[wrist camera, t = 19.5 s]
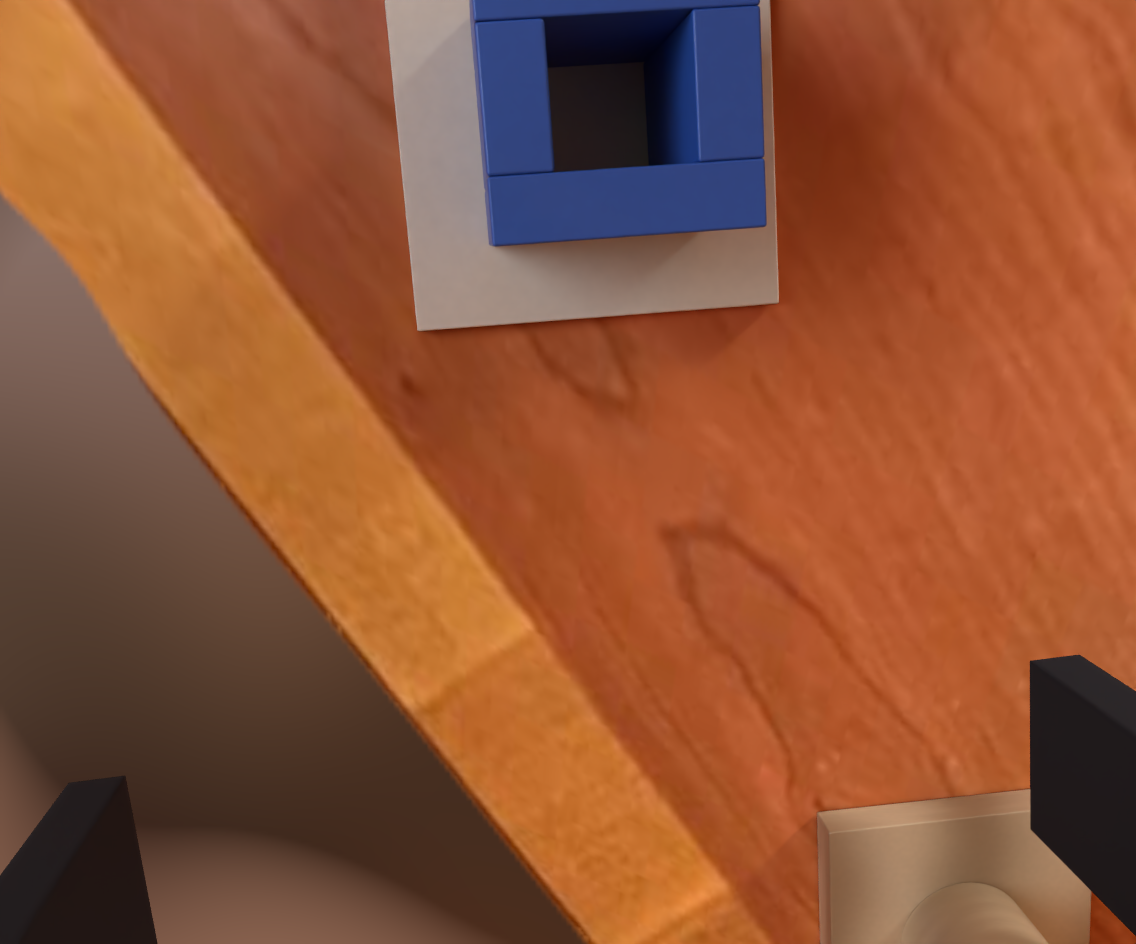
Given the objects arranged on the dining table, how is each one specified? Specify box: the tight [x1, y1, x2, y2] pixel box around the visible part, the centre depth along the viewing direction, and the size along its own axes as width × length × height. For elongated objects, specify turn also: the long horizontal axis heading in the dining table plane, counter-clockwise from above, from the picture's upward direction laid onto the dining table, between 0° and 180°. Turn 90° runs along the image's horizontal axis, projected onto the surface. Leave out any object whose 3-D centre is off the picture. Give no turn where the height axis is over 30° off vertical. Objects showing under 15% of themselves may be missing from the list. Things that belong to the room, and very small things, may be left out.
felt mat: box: [385, 0, 779, 331], centre depth 35 cm, size 12×12×1 cm
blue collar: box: [469, 0, 767, 247], centre depth 30 cm, size 7×7×8 cm
